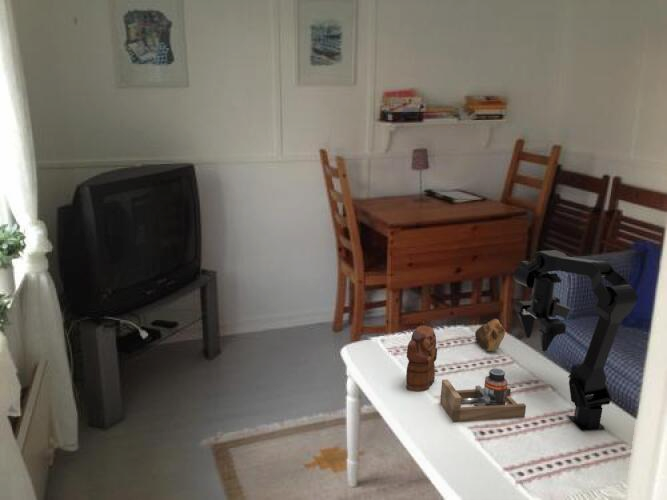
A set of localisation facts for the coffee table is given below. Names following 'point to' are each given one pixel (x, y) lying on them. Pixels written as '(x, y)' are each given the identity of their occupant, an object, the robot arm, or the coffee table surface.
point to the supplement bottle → (496, 387)
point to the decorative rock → (490, 335)
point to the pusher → (479, 397)
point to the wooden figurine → (421, 359)
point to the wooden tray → (453, 402)
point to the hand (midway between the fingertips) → (535, 344)
